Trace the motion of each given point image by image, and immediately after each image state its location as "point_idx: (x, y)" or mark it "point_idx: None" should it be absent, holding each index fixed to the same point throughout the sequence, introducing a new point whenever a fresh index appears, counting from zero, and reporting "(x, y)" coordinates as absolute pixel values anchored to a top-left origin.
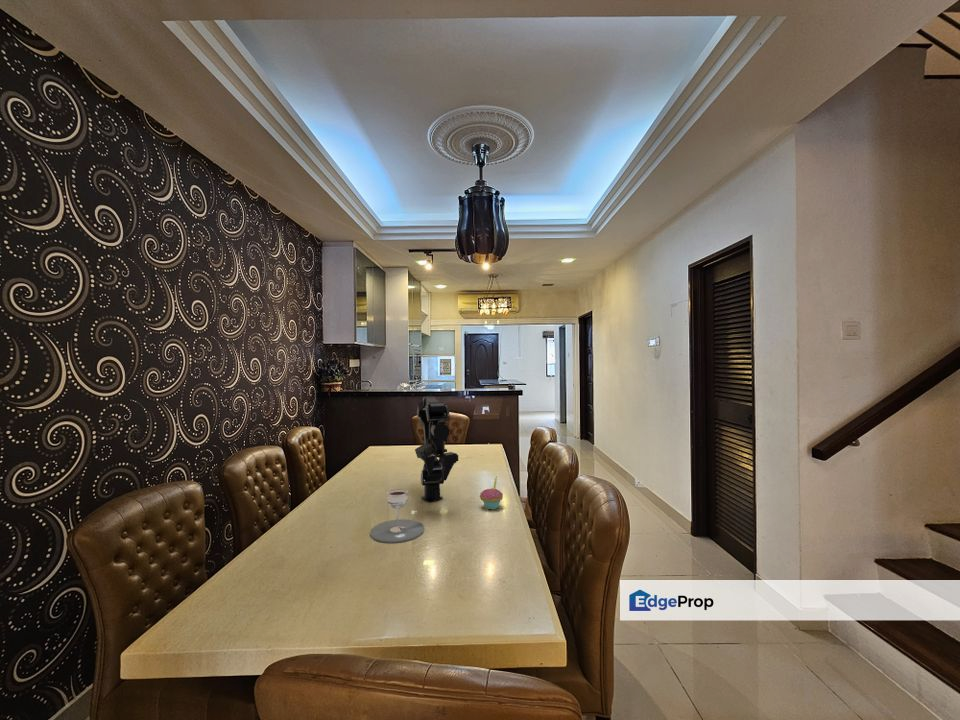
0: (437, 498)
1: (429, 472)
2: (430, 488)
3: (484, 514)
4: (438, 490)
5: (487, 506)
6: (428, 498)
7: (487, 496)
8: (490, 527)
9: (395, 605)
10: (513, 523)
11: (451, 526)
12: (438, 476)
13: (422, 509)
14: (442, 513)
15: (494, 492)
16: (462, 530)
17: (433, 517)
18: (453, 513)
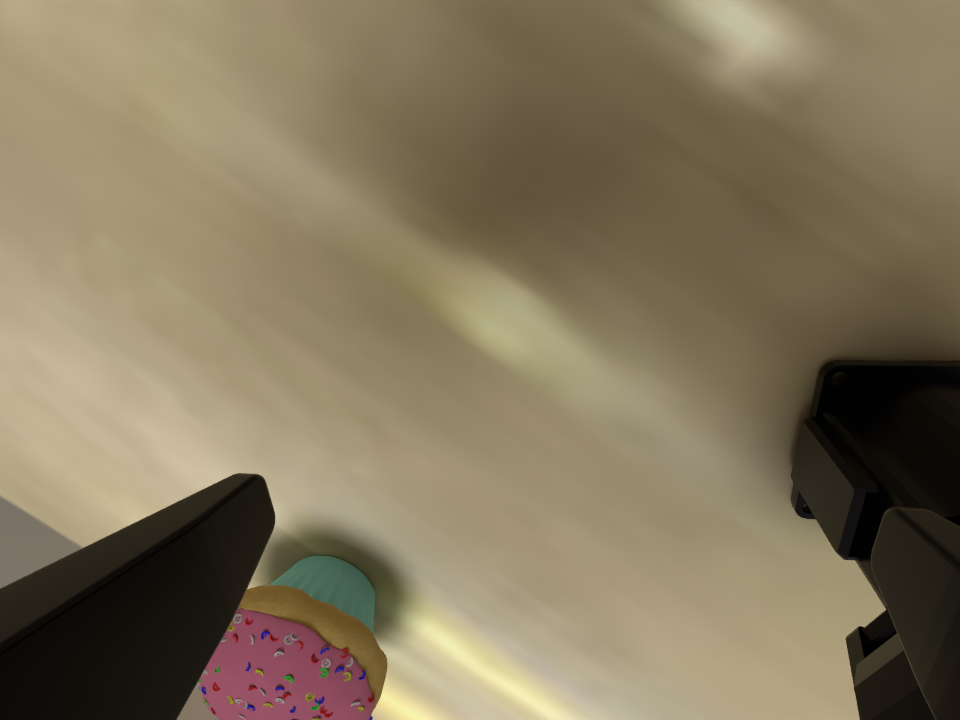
0: (798, 451)
1: (938, 581)
2: (944, 475)
3: None
4: (834, 523)
5: (298, 570)
6: (897, 389)
7: None
8: (26, 364)
9: None
10: (45, 498)
11: (137, 147)
12: (899, 688)
13: (714, 172)
14: (459, 272)
15: (209, 697)
16: (30, 172)
17: (419, 135)
18: (398, 345)
